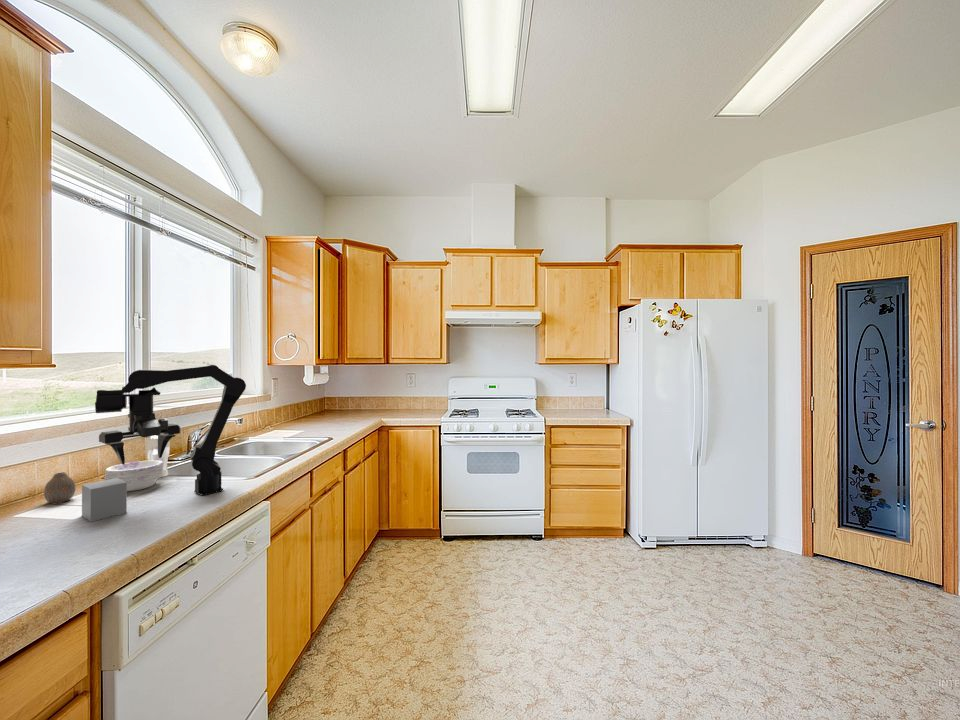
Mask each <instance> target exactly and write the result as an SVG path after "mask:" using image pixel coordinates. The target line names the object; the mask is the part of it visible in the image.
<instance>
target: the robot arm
mask: <svg viewBox="0 0 960 720" xmlns="http://www.w3.org/2000/svg"><path fill="white" fill-rule="evenodd" d="M200 378H213V380H215V381H217V382H218V383H220V384H221V385H223V388H222V389H223V390H222V395H221V399H220V403H219V406H218V408H217V410H216V412H215V414H214V417H213V420H212V422H211V423H210V426H209V429H208V431H207V433H206V435H205V437H204V440H203V441H202V442H201V443H200V444H199V445H198V444H194V447H193V451H192V453H190V455H189V457H190V462H191V467H192V468H193V470H194V471H196V472H199V473H197V474H196V478H195V480H194V490H193V491H194V493H195V492H196V493H195V494H198V493H199V494H198V495H200V494H202V495H201V496H206V495H205V494H207V495H210V494H209V493H211V494H214V493H213V492H215V493H217V492H216V491H219V492H221V491H220V490H223V489H224V488H222V471H221V466H220V465H219V463H218V461H215V455H216V451H217V445H218V442H219V439H220V438H221V436H222V434H223V433H222V432H223V431H224V429H225V426H226V424H227V422H228V419H229V417H230V414H231V412H232V410H233V407H234V405H236V403H237V401H238V400H239V399H240V398H241V396H242V395H243V394H244V392H245V390H246V388H247V384H246V382H245V381H246V380H244V379H242V378H241V377H236V376H232V375H231V374H229V373H227V372H225V370H222V369H221V368H220V367H219V366H217V365H215V364H209V365H203V366H195V367H185V368H178V369H177V368H176V369H167V370H162V369H161V370H160V369H137V370H134V371H133V372H131V373H130V375H128V378H127V379H128V382H127V383H126V384H125V386H122V387H121V389H110V390H107V389H98V390H96V397H95V402H94V409H95V413H96V414H105V413H119V412H120V413H122V412H123V410H124V409H126V408H127V398H128V411H129V412H128V414H127V417H128V418H129V424H128V425H129V426H128V428H127V429H128V430H127V431H123V432H122V431H120V430H110V431H102V432H100V433H99V434H98V442H99V443H102V444H105V445H107V446H110V447H111V448H112V451H113V450H114V453H115V454H116V456H117V458H118V460H119V462H120V463H121V464H123V465H124V464H125V463H126V457H125V450H124V445H125V442H123V439H129V438H130V439H131V438H136V437H137V438H138V437H141V438H147V437H150V436H158V457H159V458H161V457H162V455H163V452H164V450H165V447H166V445H167V443H168V441H169V440H171V439H172V438H174V437H176V435H177V434H178V435H179V434H181V426H180V425H179V424H177V423H176V424H174V423H169V419H168V418H165V417H163V418H158V419H156V414H155V413H154V396H160V395H161V392H160V391H158V389H156V387H154V386H157V385H161V384H165V383H169V382H176V381H185V380H192V379H193V380H194V379H200ZM150 387H152V388H151V389H147V388H150ZM137 389H138V393H132V392H134V391H135V390H137ZM223 491H224V490H223Z"/></svg>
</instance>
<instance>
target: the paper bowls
mask: <svg viewBox="0 0 960 720" xmlns="http://www.w3.org/2000/svg"><path fill="white" fill-rule="evenodd" d="M104 472H105V473H104V474H105V477H104V479H105V480H110V479H115V478H118V479H120V480H123V481H125V482H127V492H133V491H140V490H144V489H148V488H150V487H152V486H153V485H155V483H156V482H157V480H158V479H159V477H161V476H163V462H162V461H157V460H150V461H148V460H140V461H131V462H125V464H124V465H123V464H115V465H111V466H109V467H107V468H106V469H105V471H104ZM161 478H162V477H161Z"/></svg>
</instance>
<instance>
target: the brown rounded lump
mask: <svg viewBox="0 0 960 720" xmlns="http://www.w3.org/2000/svg"><path fill="white" fill-rule="evenodd" d="M75 493H76V483H75V481H74V479H72V478H71V477H70V476H69V475H68V474H67V473H66V472H56V473H54V475H53V476H52V477H51V478H50V479H49V480H48V482H46V484H45V487H44V489H43V497H44V499H45V501H46V502H47V503H49V504H52V503H56V504H61V503H60V502H62V503H65V502H64V501H66V502H69V500H71V499H72V498H73V497H74V495H75Z"/></svg>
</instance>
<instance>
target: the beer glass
mask: <svg viewBox="0 0 960 720" xmlns="http://www.w3.org/2000/svg"><path fill="white" fill-rule="evenodd" d="M170 440H171V439H170ZM170 440H169V441H168V443H167V445H166V447H165V450H164V452H163V455H162V457H161V458H159V457H158V436H148V437H146V457H147V461H150V460H157V461H162V462H163V476H161V477H159V478H164V477H168V476H169V471H168V460H169V456H170V449H171V447H170V446H171V445H170V444H171V441H170ZM159 478H158V479H159Z"/></svg>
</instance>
